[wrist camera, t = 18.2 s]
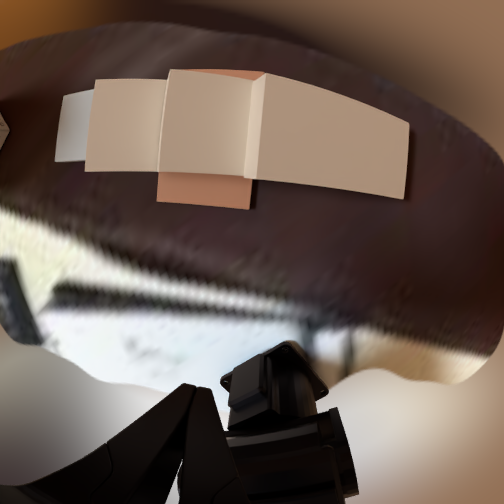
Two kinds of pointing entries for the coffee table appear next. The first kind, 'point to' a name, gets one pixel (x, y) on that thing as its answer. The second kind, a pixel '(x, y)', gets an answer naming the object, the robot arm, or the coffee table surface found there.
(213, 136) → the domino
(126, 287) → the coffee table surface
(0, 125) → the skincare box
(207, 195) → the tile
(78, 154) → the domino
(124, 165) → the domino
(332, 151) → the domino
